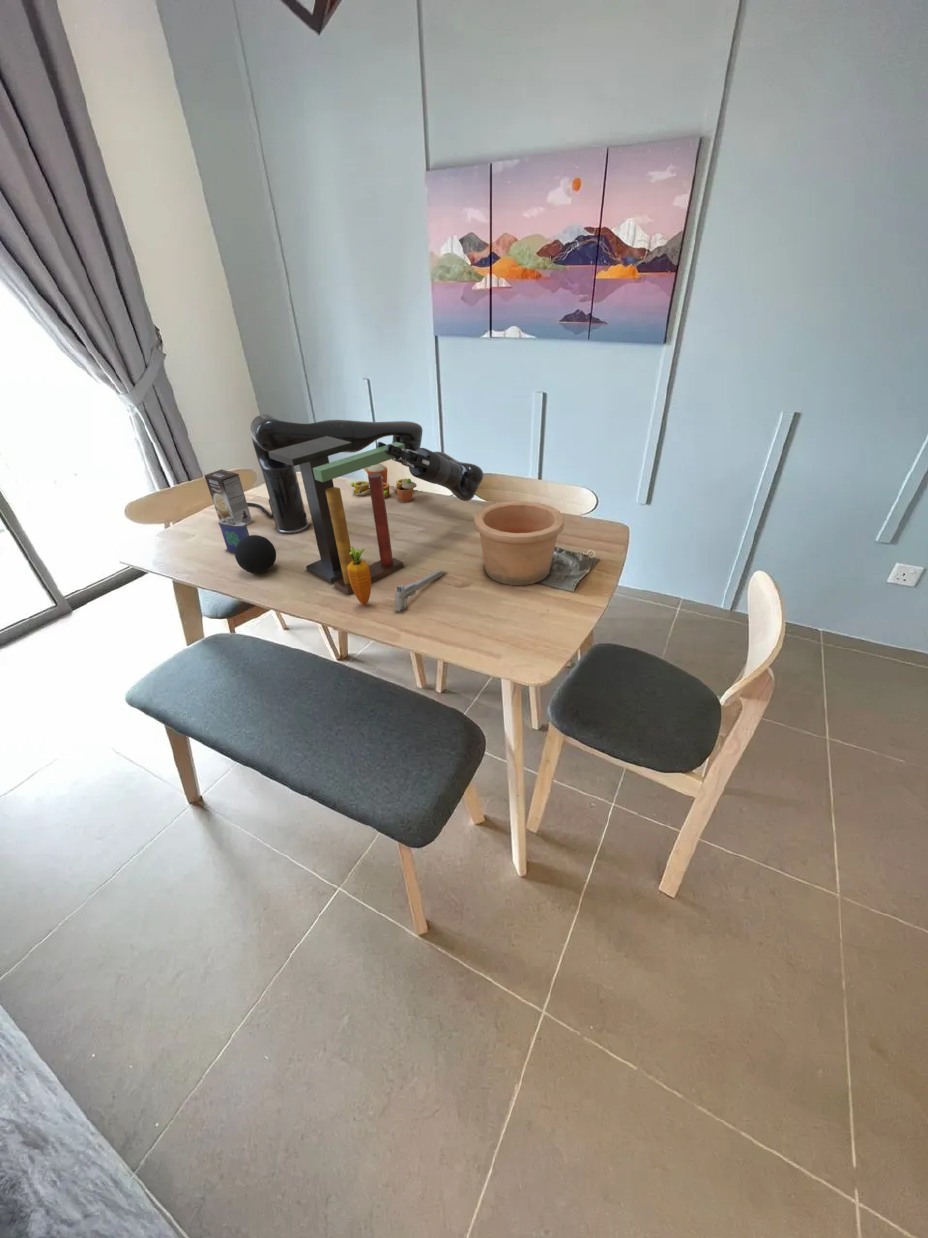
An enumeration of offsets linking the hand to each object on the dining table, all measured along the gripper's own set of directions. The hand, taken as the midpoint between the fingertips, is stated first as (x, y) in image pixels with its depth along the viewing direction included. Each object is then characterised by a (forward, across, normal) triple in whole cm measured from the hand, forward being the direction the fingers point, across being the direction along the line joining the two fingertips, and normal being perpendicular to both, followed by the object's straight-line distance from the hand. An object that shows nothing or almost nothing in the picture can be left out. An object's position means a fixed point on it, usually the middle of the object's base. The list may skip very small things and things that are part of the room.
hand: (382, 447), depth 115 cm
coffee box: (-3, -63, +34) cm, 71 cm away
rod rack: (-7, 0, +31) cm, 32 cm away
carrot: (+1, +10, +36) cm, 37 cm away
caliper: (-10, +16, +30) cm, 35 cm away
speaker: (+7, -26, +40) cm, 48 cm away
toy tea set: (-45, -43, +10) cm, 63 cm away
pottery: (-30, +27, +18) cm, 45 cm away
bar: (+4, 0, +6) cm, 7 cm away
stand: (-4, -11, +33) cm, 35 cm away
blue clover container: (+5, -42, +38) cm, 57 cm away
